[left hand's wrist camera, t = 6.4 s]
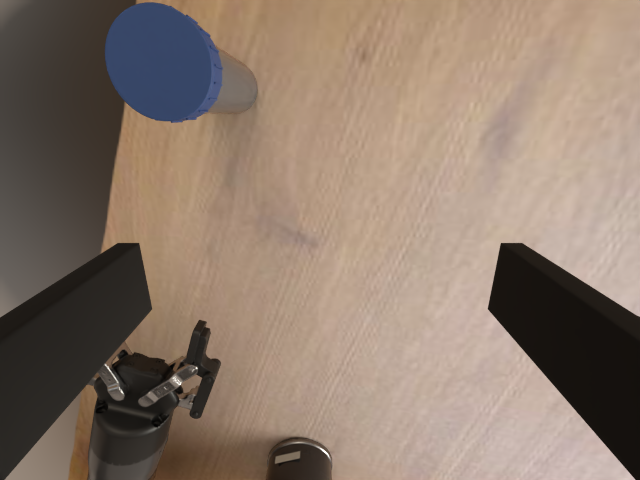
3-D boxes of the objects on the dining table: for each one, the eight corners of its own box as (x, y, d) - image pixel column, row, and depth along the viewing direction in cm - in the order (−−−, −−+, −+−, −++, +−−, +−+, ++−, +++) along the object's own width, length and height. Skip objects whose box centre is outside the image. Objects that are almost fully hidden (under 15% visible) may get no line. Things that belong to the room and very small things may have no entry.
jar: (217, 49, 31) (130, -5, 17) (264, 74, 32) (219, 42, 18) (200, 99, 33) (108, 88, 18) (246, 122, 33) (190, 128, 19)
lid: (139, -9, 18) (118, -23, 16) (238, 44, 19) (228, 36, 17) (114, 94, 20) (92, 92, 18) (204, 137, 21) (193, 140, 19)
